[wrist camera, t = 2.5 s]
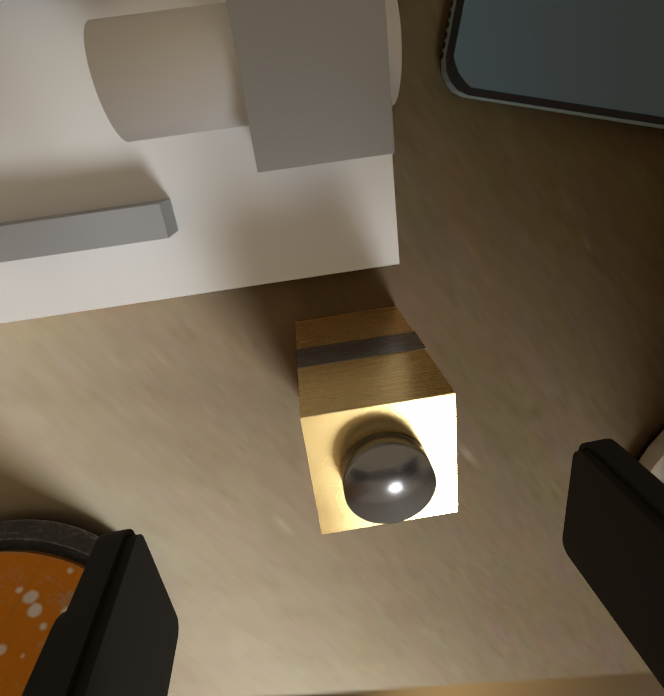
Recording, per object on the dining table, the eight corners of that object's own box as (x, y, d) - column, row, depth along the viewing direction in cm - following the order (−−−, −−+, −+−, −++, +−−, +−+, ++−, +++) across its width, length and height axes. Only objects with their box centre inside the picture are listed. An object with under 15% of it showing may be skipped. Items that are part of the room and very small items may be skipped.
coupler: (396, 304, 18) (468, 408, 11) (402, 393, 20) (468, 533, 13) (294, 320, 18) (299, 435, 11) (309, 408, 20) (323, 558, 12)
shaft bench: (360, -186, 12) (423, -472, 7) (392, 256, 17) (444, 309, 12) (-419, -95, 12) (-1091, -326, 6) (-152, 337, 16) (-380, 436, 11)
